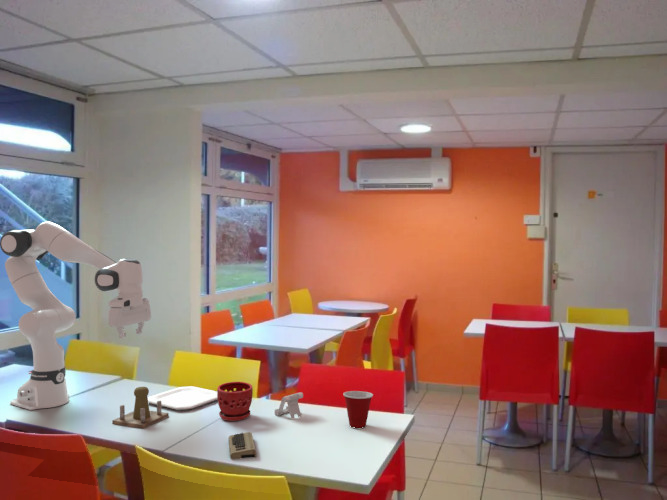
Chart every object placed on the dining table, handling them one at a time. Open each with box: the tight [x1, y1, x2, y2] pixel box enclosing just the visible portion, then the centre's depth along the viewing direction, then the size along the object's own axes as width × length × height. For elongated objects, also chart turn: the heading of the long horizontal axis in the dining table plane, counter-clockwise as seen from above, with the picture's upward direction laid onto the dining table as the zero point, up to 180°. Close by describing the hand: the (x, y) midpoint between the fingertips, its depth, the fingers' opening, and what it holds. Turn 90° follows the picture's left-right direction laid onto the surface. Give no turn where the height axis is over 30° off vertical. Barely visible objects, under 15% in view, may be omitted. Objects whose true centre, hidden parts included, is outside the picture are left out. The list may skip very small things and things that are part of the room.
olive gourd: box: [133, 386, 151, 420], centre depth 207 cm, size 6×6×11 cm
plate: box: [147, 385, 218, 411], centre depth 232 cm, size 25×25×2 cm
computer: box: [228, 431, 257, 460], centre depth 181 cm, size 16×8×3 cm, turn 13°
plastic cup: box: [343, 390, 374, 429], centre depth 202 cm, size 11×11×12 cm
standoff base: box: [112, 401, 170, 429], centre depth 208 cm, size 14×14×6 cm
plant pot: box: [216, 381, 254, 422], centre depth 211 cm, size 13×13×12 cm
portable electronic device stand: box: [274, 391, 304, 419], centre depth 214 cm, size 9×8×8 cm
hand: (130, 335), depth 219 cm, fingers open, 8 cm apart
